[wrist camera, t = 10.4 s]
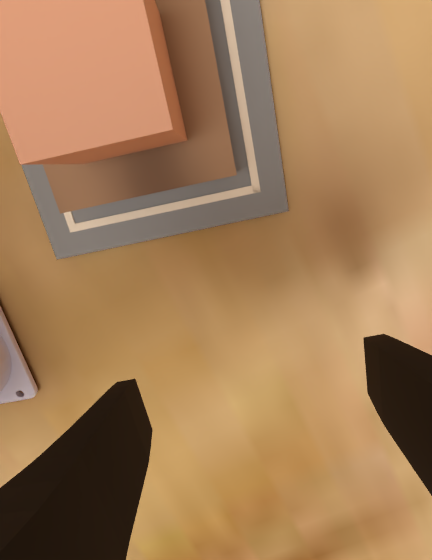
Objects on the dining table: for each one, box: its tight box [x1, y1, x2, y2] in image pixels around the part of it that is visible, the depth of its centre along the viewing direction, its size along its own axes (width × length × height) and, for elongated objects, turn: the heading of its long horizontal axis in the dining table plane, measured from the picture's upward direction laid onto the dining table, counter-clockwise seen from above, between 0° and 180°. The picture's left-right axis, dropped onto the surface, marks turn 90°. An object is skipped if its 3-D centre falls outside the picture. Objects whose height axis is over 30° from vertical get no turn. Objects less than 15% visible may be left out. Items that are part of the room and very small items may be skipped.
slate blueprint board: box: [22, 0, 289, 259], centre depth 17 cm, size 13×13×1 cm
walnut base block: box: [43, 0, 237, 214], centre depth 15 cm, size 8×8×3 cm
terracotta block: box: [0, 0, 187, 165], centre depth 11 cm, size 4×4×5 cm
